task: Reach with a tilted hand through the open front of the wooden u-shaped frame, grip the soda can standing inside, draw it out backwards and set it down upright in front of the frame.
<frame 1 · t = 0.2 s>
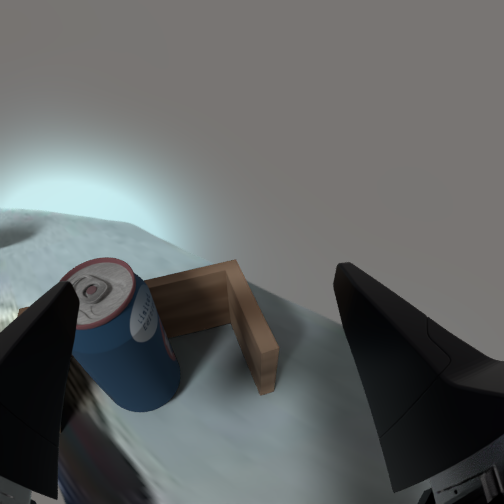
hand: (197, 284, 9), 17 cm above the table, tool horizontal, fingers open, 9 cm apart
wooden u-shaped frame: (145, 382, 23), on the table
soda can: (146, 383, 23), on the table
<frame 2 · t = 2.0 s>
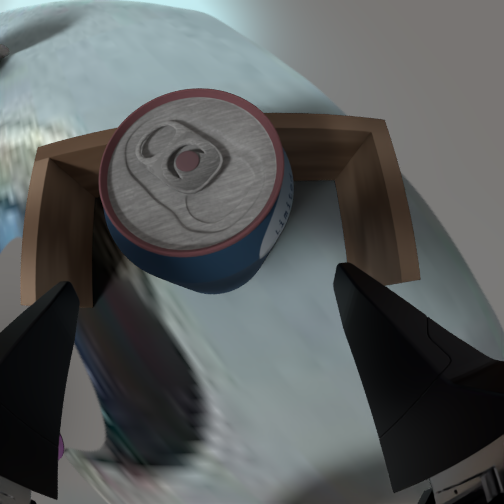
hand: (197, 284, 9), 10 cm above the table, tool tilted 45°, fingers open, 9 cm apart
wooden u-shaped frame: (214, 243, 20), on the table
soda can: (214, 244, 20), on the table
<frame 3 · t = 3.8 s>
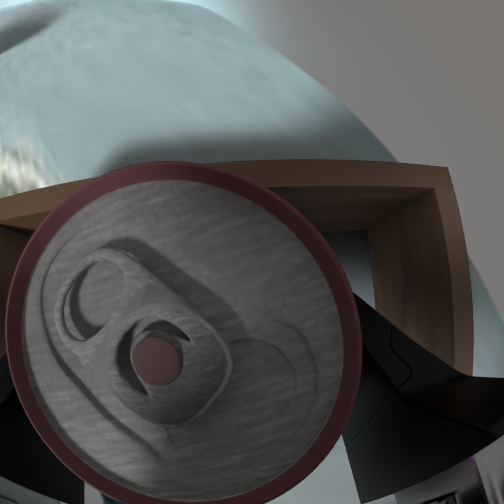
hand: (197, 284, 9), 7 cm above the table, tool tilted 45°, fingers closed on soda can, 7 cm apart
wooden u-shaped frame: (214, 318, 15), on the table
soda can: (215, 318, 15), on the table, touching gripper
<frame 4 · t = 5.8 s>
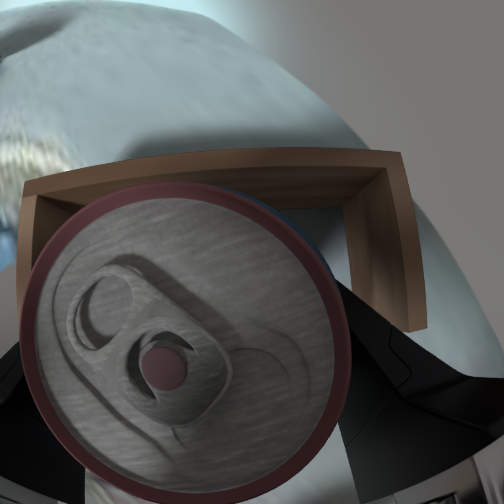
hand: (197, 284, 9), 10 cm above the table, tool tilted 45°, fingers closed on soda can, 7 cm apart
wooden u-shaped frame: (215, 277, 19), on the table
soda can: (216, 311, 16), point 3 cm above the table, touching gripper
when the fingers open (8 cm above the table, at t = 8.2 s): soda can stays where it is, on the table.
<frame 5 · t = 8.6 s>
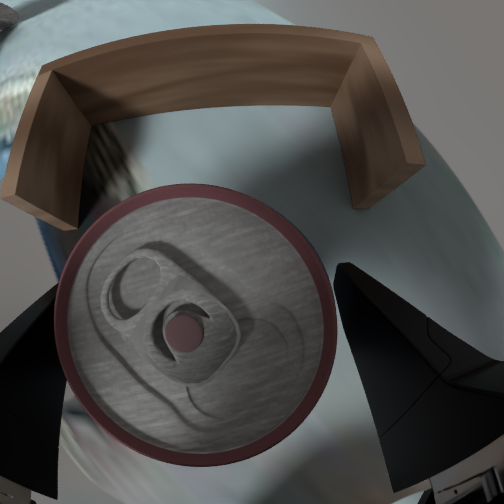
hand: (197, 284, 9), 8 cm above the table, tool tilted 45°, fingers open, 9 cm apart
wooden u-shaped frame: (208, 158, 18), on the table
soda can: (219, 312, 17), on the table
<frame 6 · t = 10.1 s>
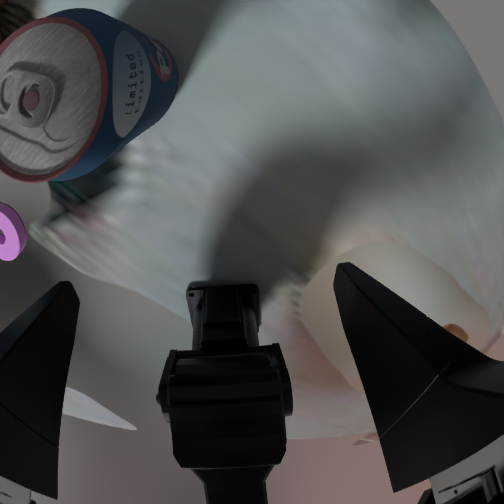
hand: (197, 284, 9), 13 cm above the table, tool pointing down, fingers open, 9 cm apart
soda can: (132, 83, 16), on the table
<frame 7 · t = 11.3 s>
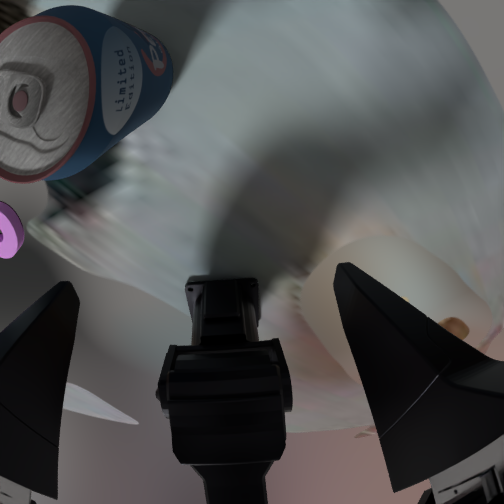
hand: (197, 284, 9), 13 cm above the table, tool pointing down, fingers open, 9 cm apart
soda can: (127, 78, 16), on the table
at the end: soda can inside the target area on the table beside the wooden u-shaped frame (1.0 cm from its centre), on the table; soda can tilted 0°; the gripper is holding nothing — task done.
